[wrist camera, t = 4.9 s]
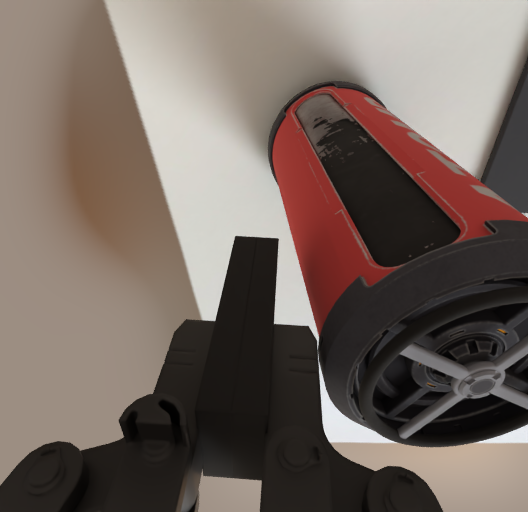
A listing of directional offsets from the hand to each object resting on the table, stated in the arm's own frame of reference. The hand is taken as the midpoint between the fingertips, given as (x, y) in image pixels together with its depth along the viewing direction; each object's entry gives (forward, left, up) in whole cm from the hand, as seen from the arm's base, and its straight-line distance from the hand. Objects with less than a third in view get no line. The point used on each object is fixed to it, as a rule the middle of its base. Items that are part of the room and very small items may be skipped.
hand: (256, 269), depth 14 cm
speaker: (+2, +3, -14) cm, 14 cm away
